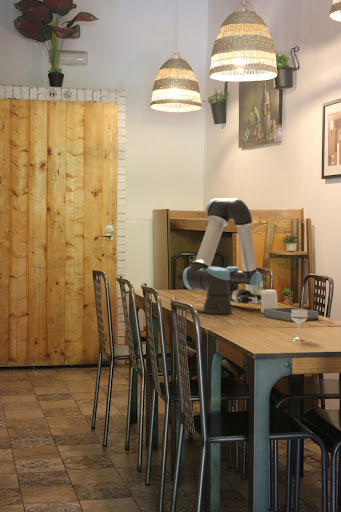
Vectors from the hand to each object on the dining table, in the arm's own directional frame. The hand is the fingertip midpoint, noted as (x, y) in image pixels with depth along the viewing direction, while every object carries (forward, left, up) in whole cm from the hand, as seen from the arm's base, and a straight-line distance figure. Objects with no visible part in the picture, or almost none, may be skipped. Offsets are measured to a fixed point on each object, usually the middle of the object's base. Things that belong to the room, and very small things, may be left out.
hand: (266, 300), depth 375 cm
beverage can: (-1, -3, -7) cm, 7 cm away
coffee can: (+23, +41, -7) cm, 47 cm away
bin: (-3, -23, -6) cm, 24 cm away
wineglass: (-44, -76, -6) cm, 88 cm away
